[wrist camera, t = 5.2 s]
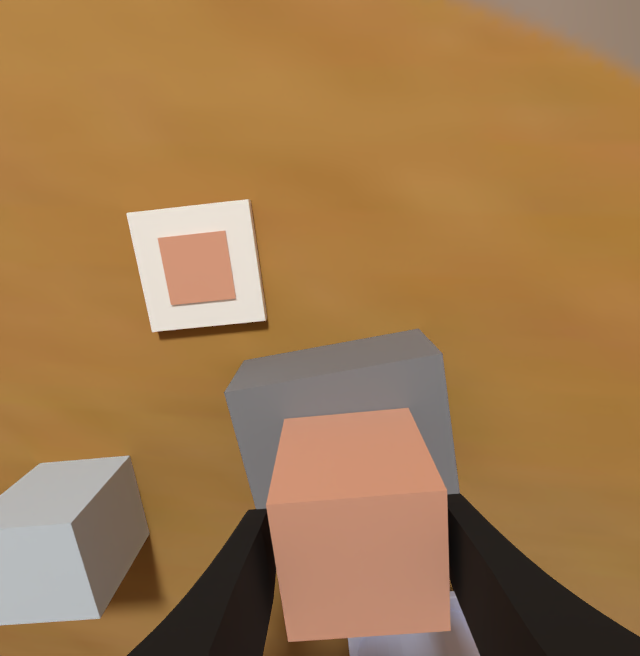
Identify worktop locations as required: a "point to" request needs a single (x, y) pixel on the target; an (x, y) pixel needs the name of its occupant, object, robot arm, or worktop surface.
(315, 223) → the worktop surface
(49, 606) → the light gray cube
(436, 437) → the charcoal base block
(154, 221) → the tile
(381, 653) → the robot arm
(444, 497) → the terracotta cube
